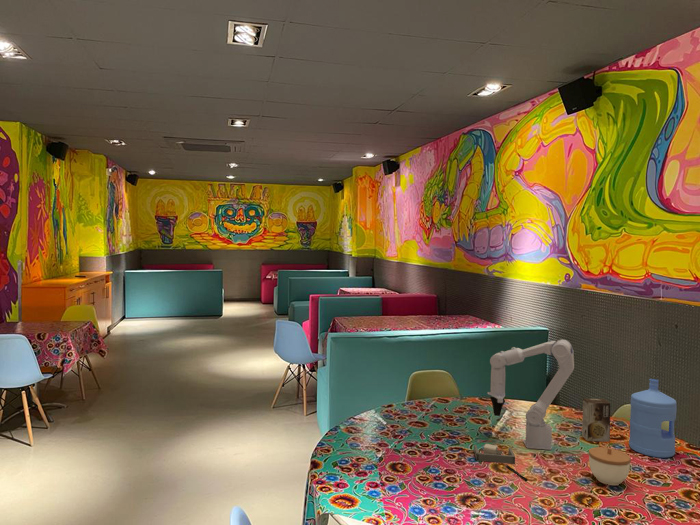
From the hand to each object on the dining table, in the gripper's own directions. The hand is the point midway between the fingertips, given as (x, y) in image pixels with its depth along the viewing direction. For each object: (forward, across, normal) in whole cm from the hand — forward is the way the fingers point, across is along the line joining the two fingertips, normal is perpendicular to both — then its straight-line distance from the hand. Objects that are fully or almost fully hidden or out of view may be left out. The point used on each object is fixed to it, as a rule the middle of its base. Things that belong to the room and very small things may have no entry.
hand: (496, 415), depth 209 cm
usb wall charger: (+10, +21, -4) cm, 23 cm away
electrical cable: (+10, +34, +1) cm, 35 cm away
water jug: (+10, +2, +59) cm, 60 cm away
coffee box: (+10, -7, +41) cm, 43 cm away
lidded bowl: (+10, +34, +32) cm, 47 cm away
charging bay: (+9, +20, -4) cm, 23 cm away
